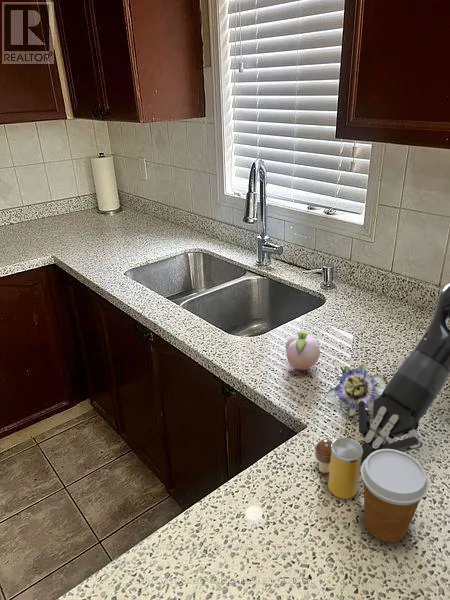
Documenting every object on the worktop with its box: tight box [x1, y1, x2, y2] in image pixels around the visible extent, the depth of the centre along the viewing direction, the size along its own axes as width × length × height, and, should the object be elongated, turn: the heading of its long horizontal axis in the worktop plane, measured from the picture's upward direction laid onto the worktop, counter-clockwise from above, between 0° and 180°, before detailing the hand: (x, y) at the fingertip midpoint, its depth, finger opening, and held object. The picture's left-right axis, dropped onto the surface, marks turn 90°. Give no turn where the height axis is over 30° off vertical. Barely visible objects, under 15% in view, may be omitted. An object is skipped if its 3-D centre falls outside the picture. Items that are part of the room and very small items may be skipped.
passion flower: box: [327, 362, 390, 417], centre depth 97 cm, size 11×11×12 cm
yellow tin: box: [327, 437, 363, 500], centre depth 76 cm, size 5×5×9 cm
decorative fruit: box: [285, 331, 321, 370], centre depth 109 cm, size 9×8×10 cm
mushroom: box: [314, 438, 333, 474], centre depth 81 cm, size 4×4×7 cm
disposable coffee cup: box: [360, 449, 429, 544], centre depth 69 cm, size 10×10×12 cm
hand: (360, 464), depth 78 cm, fingers closed
